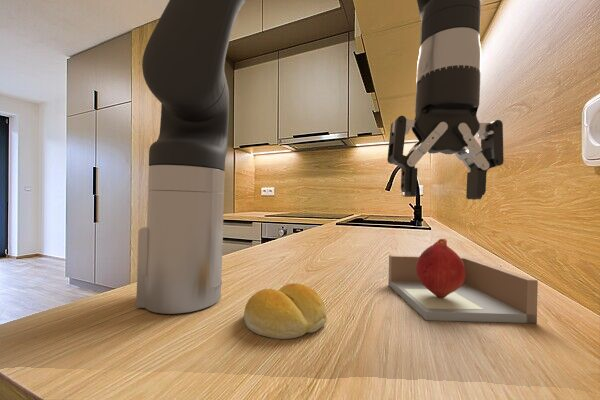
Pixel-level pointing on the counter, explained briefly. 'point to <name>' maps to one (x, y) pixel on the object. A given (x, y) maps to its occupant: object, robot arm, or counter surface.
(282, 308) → the bread roll
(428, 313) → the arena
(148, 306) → the robot arm
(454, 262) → the onion
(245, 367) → the counter surface
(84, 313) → the counter surface
